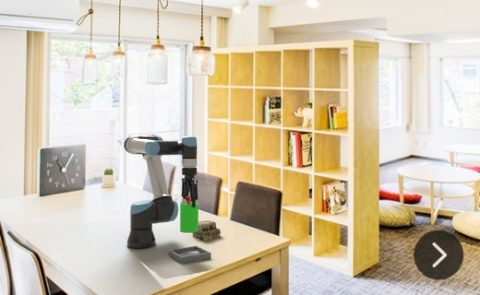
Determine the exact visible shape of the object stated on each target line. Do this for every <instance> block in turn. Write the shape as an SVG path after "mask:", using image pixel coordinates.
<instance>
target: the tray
mask: <svg viewBox="0 0 480 295" xmlns="http://www.w3.org/2000/svg"><path fill="white" fill-rule="evenodd" d="M190 251H197V252H190ZM168 256H169V257H170V258H172V259H173V260H175V261H176V262H178V263H179V264H181V265H183V264H189V263H194V262H200V261H206V260H211V259H212V252H210V251H208V250H207V249H204V248H202V247H200V246H198V245H192V246H187V247H180V248H173V249H168Z"/></svg>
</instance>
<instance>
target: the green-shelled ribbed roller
mask: <svg viewBox="0 0 480 295" xmlns="http://www.w3.org/2000/svg"><path fill="white" fill-rule="evenodd" d="M190 200H191V197H190V195H189V196H186V201H187V204H184V202H180V204H179V208H180V210H179V222H180V223H179V231H180V233H183V234H193V233H194V232H198V222H199V202H197V203H196V204H195V207H192V205H190Z"/></svg>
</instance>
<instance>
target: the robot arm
mask: <svg viewBox="0 0 480 295" xmlns="http://www.w3.org/2000/svg"><path fill="white" fill-rule="evenodd" d="M197 142H198V141H197V137H196V136H182V138H181V140H180V139H179V140H178V139H177V140H164V139H163V138H162V137H161V136H160V135H158V134H131V135H130V136H128V137H127V138H125V140H124V142H123V148H124V151H126V152H127V153H128V154H131V155H142V159H143V160H145V161H146V165H147V171H148V176H149V182H150V186H151V191H152V195H153V198H152V199H146V200H139V201H136V202H133V203H132V204H131V205H130V211H129V216H130V218H129V220H130V226H129V227H130V231H129V235H128V237H127V241H126V245H127V247H129V248H136V249H138V248H149V247H152V246H154V245H156V236H155V233H154V231H153V224H162V223H163V224H164V223H170V222H174V221H175V220H176V219H177V217H178V215H179V204H178V202H177V201H176V200H173V196H172V195H170V194H169V190H168V185H167V181H166V176H165V171H164V167H163V161H162V157H163V156H181V167H182V168H181V174H182V176H184V177H182V178H181V195H180V197H181V198H182V199H183V203H184V204H187V201H186V196H190V199H191V200H190V205H192V207H195V204H197V203H196V201H198V199H199V194H198V193H199V190H198V179H196V178H195V176H196V175H197V174H198V168H197V166H198V143H197Z"/></svg>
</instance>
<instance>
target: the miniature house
mask: <svg viewBox="0 0 480 295" xmlns="http://www.w3.org/2000/svg"><path fill="white" fill-rule="evenodd" d="M221 233H222V231H221V229H220V228H218V227H217V223H216V221H212V220H209V219H208V220H203V221H198V232H194V233H192V237H195V238H196V239H197V240H198V239H199V240H202V241H204V242H207V241H211V240H213V239H215V238H217V239H218V238H219V237H221Z"/></svg>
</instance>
